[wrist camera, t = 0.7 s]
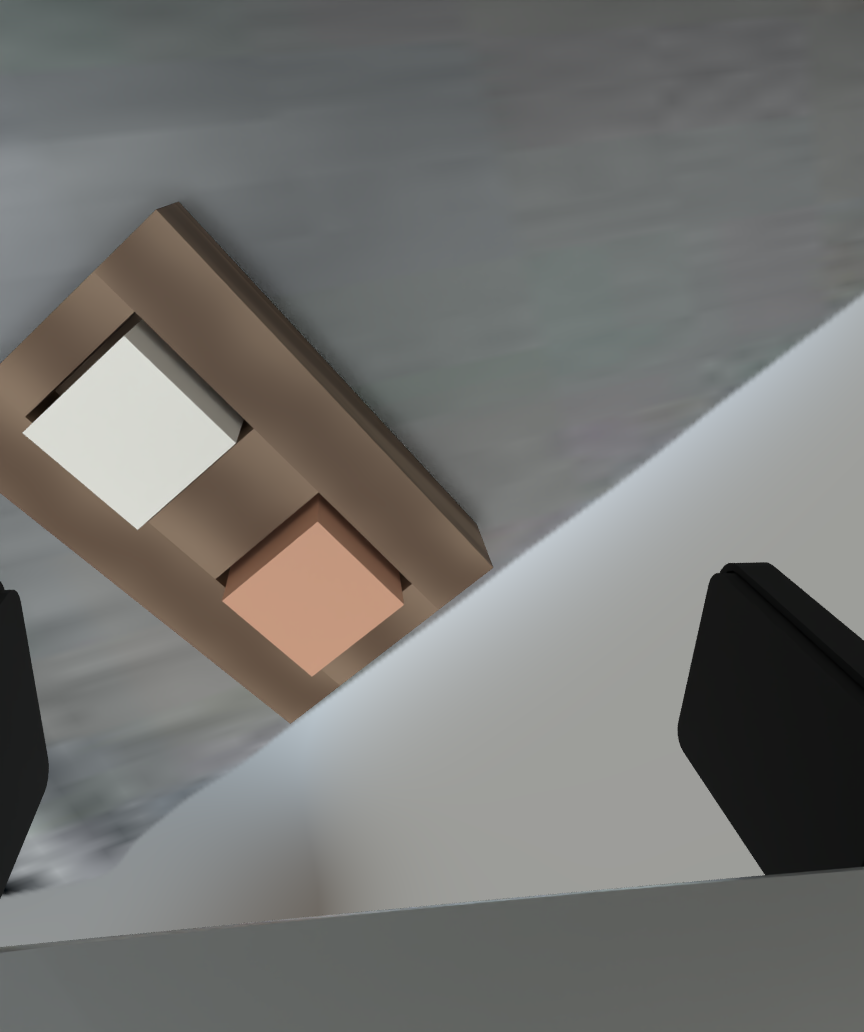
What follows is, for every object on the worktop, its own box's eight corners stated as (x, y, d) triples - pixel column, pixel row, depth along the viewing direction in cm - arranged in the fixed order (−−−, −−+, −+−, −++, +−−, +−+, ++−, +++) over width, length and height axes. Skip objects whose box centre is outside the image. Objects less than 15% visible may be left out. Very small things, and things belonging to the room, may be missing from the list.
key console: (178, 201, 35) (156, 209, 31) (476, 524, 44) (493, 567, 39) (-25, 401, 38) (-73, 435, 33) (294, 668, 46) (290, 723, 42)
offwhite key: (143, 317, 34) (123, 335, 31) (244, 416, 36) (235, 443, 33) (50, 406, 35) (22, 432, 32) (154, 496, 37) (137, 529, 34)
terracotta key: (318, 489, 38) (317, 521, 35) (398, 568, 41) (404, 604, 37) (231, 563, 39) (222, 601, 36) (313, 635, 42) (312, 676, 38)
